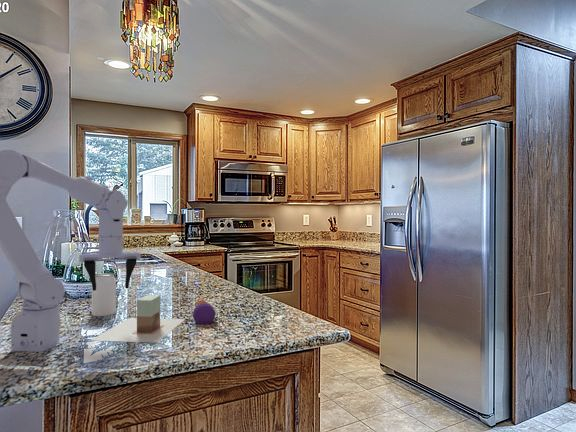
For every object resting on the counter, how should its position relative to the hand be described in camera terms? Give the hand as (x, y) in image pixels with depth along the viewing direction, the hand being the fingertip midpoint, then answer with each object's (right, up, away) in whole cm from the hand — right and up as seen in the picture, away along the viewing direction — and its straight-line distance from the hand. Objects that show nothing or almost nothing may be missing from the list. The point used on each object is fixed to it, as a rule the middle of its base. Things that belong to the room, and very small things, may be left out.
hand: (110, 288), depth 106 cm
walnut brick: (+11, -10, -3) cm, 15 cm away
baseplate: (+9, -11, -2) cm, 14 cm away
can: (-8, -11, +14) cm, 19 cm away
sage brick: (+11, -6, -3) cm, 13 cm away
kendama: (+22, -11, +11) cm, 27 cm away
